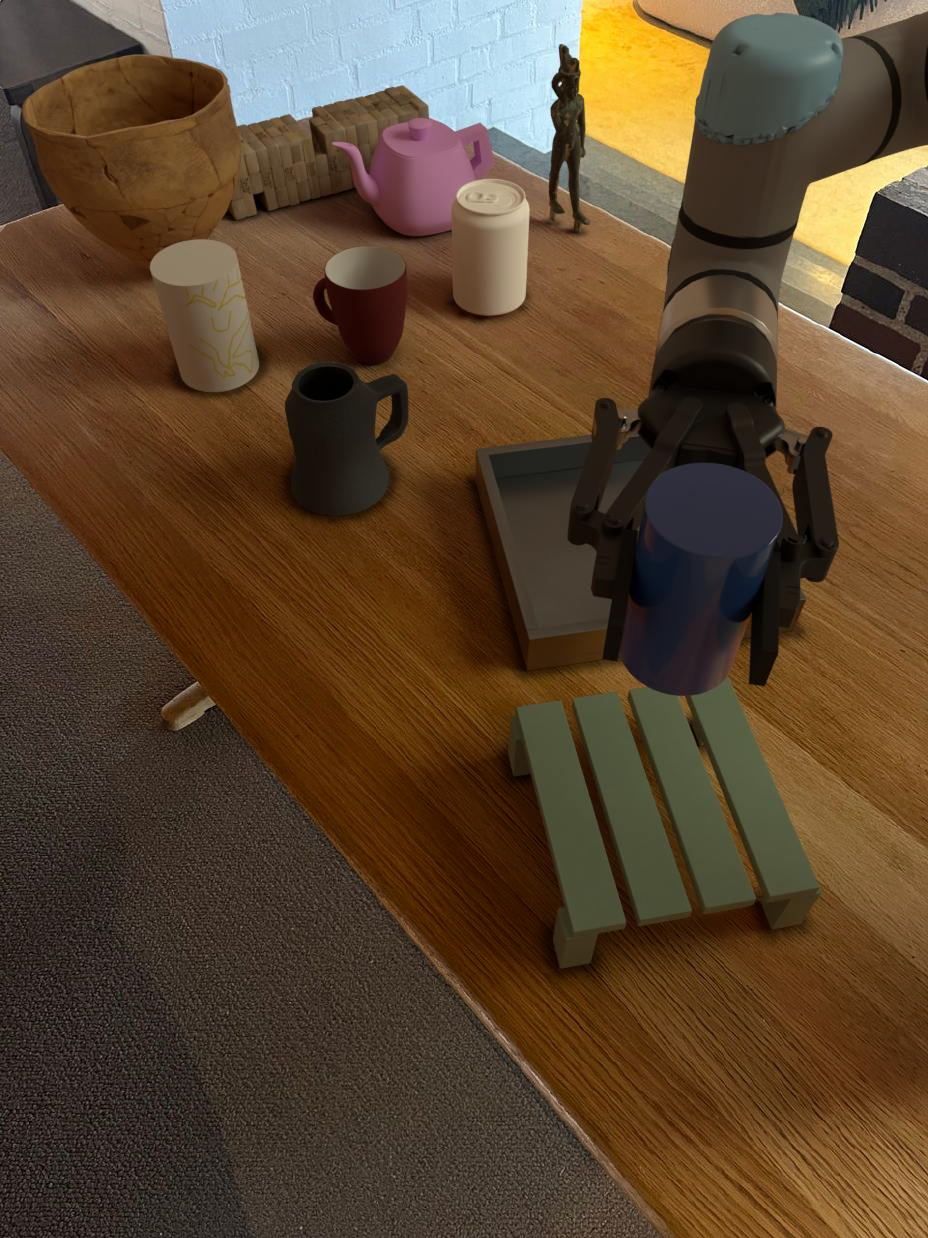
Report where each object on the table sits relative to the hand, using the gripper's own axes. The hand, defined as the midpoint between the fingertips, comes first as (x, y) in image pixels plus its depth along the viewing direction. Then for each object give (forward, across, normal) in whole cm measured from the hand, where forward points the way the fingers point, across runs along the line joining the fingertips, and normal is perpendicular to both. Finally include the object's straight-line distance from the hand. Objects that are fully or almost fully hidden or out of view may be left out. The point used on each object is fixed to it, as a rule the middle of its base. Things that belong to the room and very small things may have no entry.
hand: (687, 655), depth 46 cm
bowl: (-63, +60, -24) cm, 90 cm away
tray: (-29, +4, -24) cm, 38 cm away
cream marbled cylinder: (-47, +48, -24) cm, 71 cm away
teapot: (-81, +35, -24) cm, 92 cm away
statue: (-81, +16, -24) cm, 86 cm away
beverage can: (-65, +23, -24) cm, 73 cm away
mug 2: (-34, +29, -24) cm, 51 cm away
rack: (-3, -1, -24) cm, 24 cm away
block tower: (-86, +50, -24) cm, 103 cm away
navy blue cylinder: (-5, 0, -6) cm, 8 cm away
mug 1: (-52, +34, -24) cm, 67 cm away
